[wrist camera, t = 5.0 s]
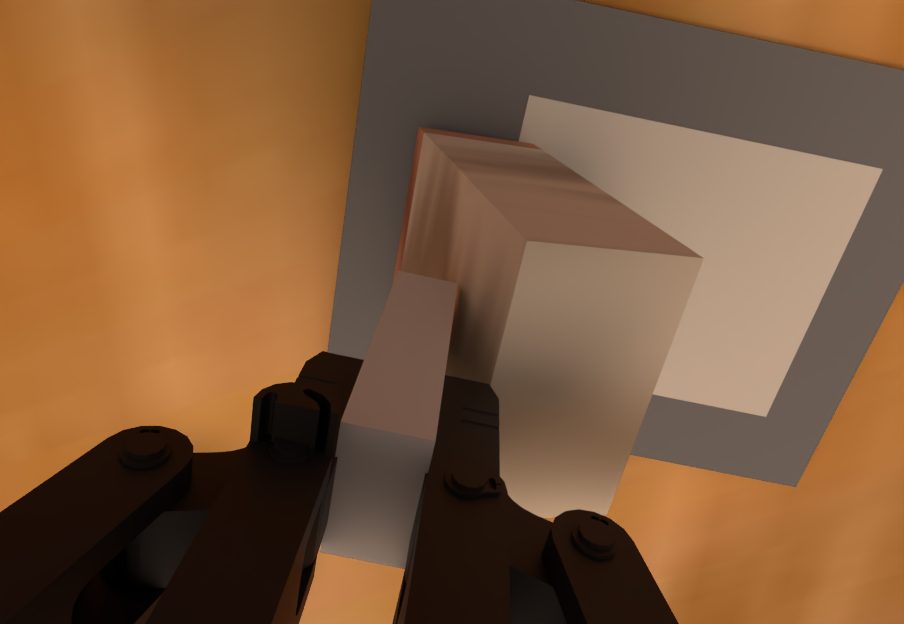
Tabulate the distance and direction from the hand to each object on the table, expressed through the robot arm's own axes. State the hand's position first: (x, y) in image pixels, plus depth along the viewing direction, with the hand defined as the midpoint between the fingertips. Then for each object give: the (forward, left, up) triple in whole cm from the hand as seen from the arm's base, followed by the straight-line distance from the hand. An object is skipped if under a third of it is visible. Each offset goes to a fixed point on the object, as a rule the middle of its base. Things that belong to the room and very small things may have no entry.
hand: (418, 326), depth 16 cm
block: (0, +1, -7) cm, 7 cm away
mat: (0, +6, -9) cm, 11 cm away
